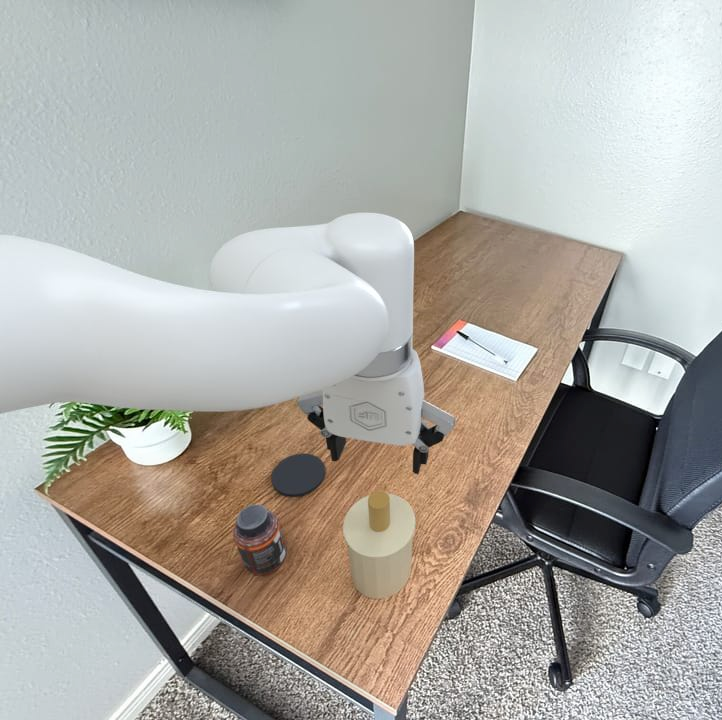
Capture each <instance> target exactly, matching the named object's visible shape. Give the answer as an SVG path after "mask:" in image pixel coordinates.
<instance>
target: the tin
mask: <svg viewBox="0 0 722 720" xmlns="http://www.w3.org/2000/svg"><path fill="white" fill-rule="evenodd" d="M413 537H414V535H413V536H412V538H411V540H410V542H409V543H408V544H407V545H406V546H405V547H404V548H403V549H402V550H401V551H399V552H398V553H396V554H394V555H392V556H389V557H386V558H380V559H372V558H366V557H363V556H361V555H358V554H357V553H355V552H354V551H353V550H351V548H350V547H349V546H348V545H347V552H348V561H349V568H350V569H349V570H350V577H351V581H352V584H353V586H354V588H355V590H357V592H359V594H361V595H363V596H364V597H366V598H369V599H373V600H383V599H387V598H391V597H393V596H395V595H396V594H398V593H399V592H400V591H402V590H403V589H404V587H405V586H406V585H407V583H408V581H409V579H410V576H411V571H412V566H413V565H412V564H413V563H412V562H413V539H414V538H413Z"/></svg>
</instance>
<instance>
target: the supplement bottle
mask: <svg viewBox="0 0 722 720" xmlns="http://www.w3.org/2000/svg"><path fill="white" fill-rule="evenodd" d="M232 531H233V532H232V536H233V539H234V540H233V541H234V543H235V545H236V548H237V550H238V552H239V555H240V557H241V560H242V563H243V564H244V567H245V568H246V570H247V572H248V573H250V574H251V575H254V576H259V577H261V576H262V577H263V576H266V575H267V576H268V575H270V574H272V573H274V572H275V571H277V570H278V569H279V568H281V566H282V565H283V563H284V562H285V560H286V557H287V547H286V543H285V540H284V536H283V533H282V529H281V526H280V523H279V519H278V517H277V515H276V514H275V513H273V511H271V510H269V509H267V508H266V507H265V506H264V505H262V504H256V503H255V504H250V505H248V506H246V507H244V508H242V509H241V510H240V511H239V513H238V514H237V516H236V523H235V524H234V526H233V530H232Z"/></svg>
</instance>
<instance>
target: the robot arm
mask: <svg viewBox="0 0 722 720" xmlns="http://www.w3.org/2000/svg"><path fill="white" fill-rule="evenodd" d="M414 279H415V242H414V238H413V234H412V231H411V230H410V228H408V226H407V225H406V224H405V223H404V222H403V221H402V220H399V219H398V218H396V217H393V216H391V215H387V214H384V213H378V212H353V213H346V214H343V215H340V216H338V217H336V218H334V219H333V220H331V221H329V222H327V223H321V224H320V223H319V224H311V225H298V226H283V227H281V226H280V227H269V228H261V229H255V230H252V231H247V232H244V233H242V234H238V235H237V236H235V237H233V238H231V239H229V240H228V241H227V242H225V243H224V244H223V245H222V246H221V247H220V248H219V249H218V250H217V252H216V253H215V255H214V256H213V258H212V260H211V264H210V267H209V282H210V287H211V289H212V290H208V289H201V288H195V287H190V286H186V285H181V284H176V283H172V282H168V281H164V280H162V279H156V278H153V277H149V276H147V275H143V274H140V273H137V272H134V271H131V270H128V269H125V268H123V267H120V266H117V265H115V264H112V263H109V262H106V261H104V260H101V259H99V258H95V257H93V256H90V255H88V254H85V253H82V252H79V251H76V250H73V249H70V248H67V247H65V246H61V245H56V244H53V243H49V242H45V241H41V240H38V239H33V238H30V237H23V236H19V235H12V234H0V414H6V413H10V412H15V411H20V410H24V409H29V408H33V407H34V408H35V407H39V406H45V405H51V404H59V403H77V404H78V403H79V404H90V405H98V406H105V407H114V408H122V409H132V410H133V409H134V410H146V411H150V410H152V411H174V412H175V411H177V412H202V413H203V412H206V413H207V412H213V413H214V412H218V413H219V412H221V413H222V412H223V413H225V412H239V411H248V410H253V409H254V410H255V409H261V408H266V407H270V406H275V405H279V404H281V403H285V402H289V401H290V400H294V399H297V398H298V400H297V401H296V405H297V406H298V407H299V409H300V410H301V411H302V412H303V414H304V415H306V416H307V417H306V419H307V421H309V422H310V423H311V424H312V425H313V426H315V427H316V428H318V429H319V430H320V431H319V435H320V436H321V437H323V438H325V442H326V443H325V444H326V448H327V450H329V453H330V458H331V461H332V462H338V461H339V460H340V459H341V456H342V454H343V452H344V449H345V447H346V445H347V439H352V440H358V441H364V442H370V443H378V444H385V445H390V446H399V447H400V446H401V447H407V446H414V448H413V452H412V473H413V474H414V475H420V471H421V466H422V465H424V466H426V465H427V464H428V459H429V452H430V451H429V450H430V448H431V447H433V446H436V445H437V444H440V443H441V442H443V441H444V438H445V437H447V436H448V435H449V433H451V432H452V431H453V429H454V428H455V425H456V424H455V423H456V417H455V416H453V415H452V414H450V413H448V412H446V411H444V410H443V409H441V408H439V407H437V406H435V405H433V404H431V403H430V402H427V401H426V400H425V385H424V377H423V371H422V365H421V361H420V358H419V354H418V352H417V350H415V349H413V338H414V337H413V336H414V335H413V333H414V331H413V330H414V287H415V286H414V285H415V284H414V283H415V282H414V281H415V280H414ZM423 419H425V420H426V421H428V422H430V423H432V424H434V425H433V426H431V427H430V426H429V425H428V424H427V422H425V421H424V420H423Z"/></svg>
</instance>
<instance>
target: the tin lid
mask: <svg viewBox="0 0 722 720" xmlns="http://www.w3.org/2000/svg"><path fill="white" fill-rule="evenodd" d="M416 521H417V520H416V514H415V512H414V510H413V508H412V506H411V505H410V503H408V502H407V501H406V500H405V499H404V498H402V497H401V496H398V495H396V494H393V493H388V492H386V491H384V490H376V491H373V492H372V493H370V494H369V495H367V496H364V497H362V498H360V499H359V500H357V501H356V502H355V503H354V504H353V505H351V506H350V508H349V510H348V511H347V513H346V514H345V517H344V519H343V523H342V534H343V538H344V541H345V543H346V544H347V545H346V546H347V547H348V546H349V547H350V548H351V550H353V551H354V552H355V553H357V554H358V555H361V556H363V557H366V558H372V559H380V558H386V557H389V556H392V555H394V554H396V553H398V552H399V551H401V550H402V549H403V548H404V547H405V546H406V545H407V544H408V543H409V542H410V540H411V538H412V536H413V537H414V534H415V531H416V524H417V523H416Z"/></svg>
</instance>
